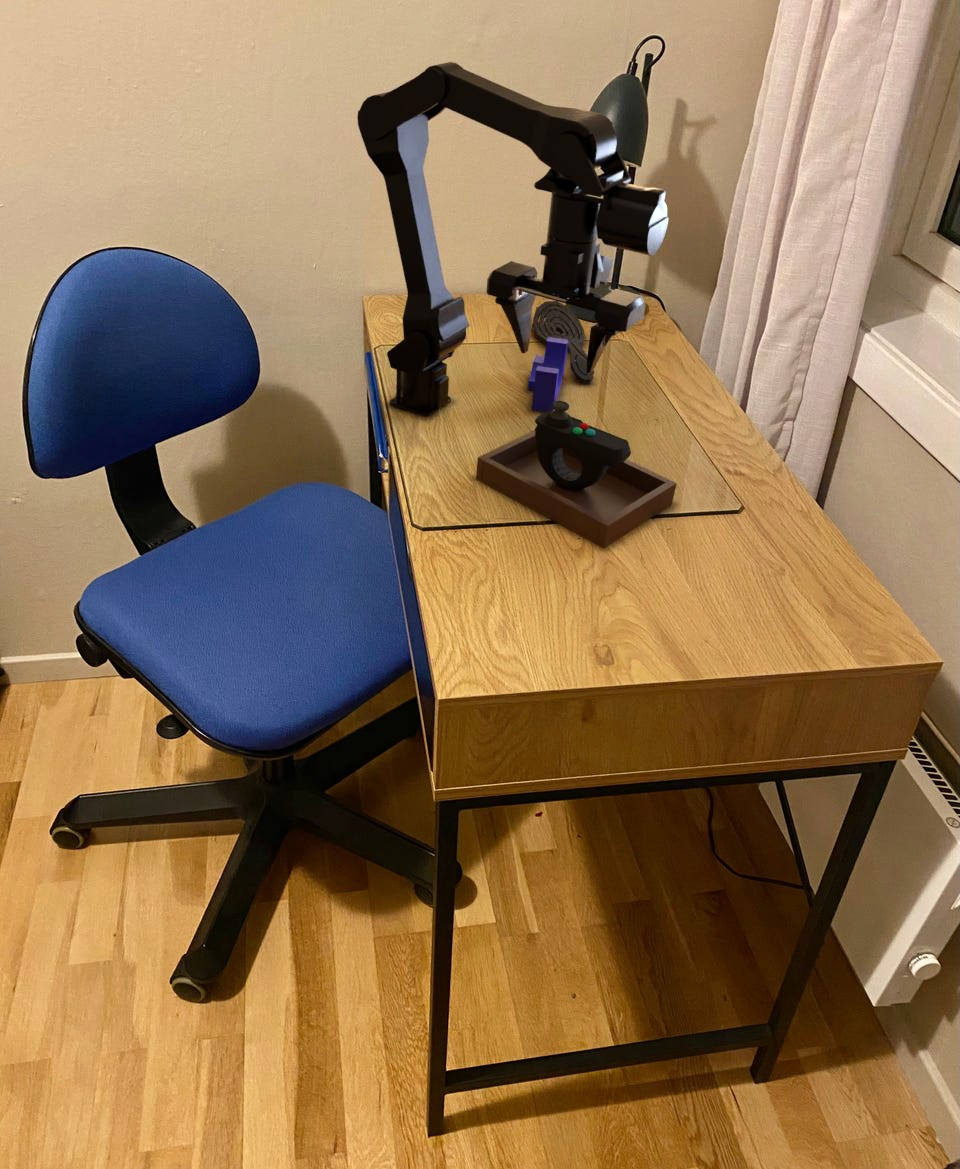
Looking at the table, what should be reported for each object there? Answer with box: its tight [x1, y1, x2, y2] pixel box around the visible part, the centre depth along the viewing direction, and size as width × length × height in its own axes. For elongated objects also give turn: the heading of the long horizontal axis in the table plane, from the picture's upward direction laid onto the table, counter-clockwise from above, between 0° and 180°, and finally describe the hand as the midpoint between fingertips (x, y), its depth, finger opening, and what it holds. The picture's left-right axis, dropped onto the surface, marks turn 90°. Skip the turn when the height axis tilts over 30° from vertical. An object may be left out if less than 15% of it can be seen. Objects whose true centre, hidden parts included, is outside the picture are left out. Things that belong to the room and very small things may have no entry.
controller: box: [534, 400, 632, 489], centre depth 115 cm, size 4×12×10 cm, turn 54°
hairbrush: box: [531, 297, 595, 385], centre depth 151 cm, size 8×4×25 cm
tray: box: [475, 429, 677, 549], centre depth 117 cm, size 20×14×3 cm
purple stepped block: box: [527, 337, 568, 413], centre depth 138 cm, size 12×4×6 cm, turn 169°
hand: (556, 362), depth 119 cm, fingers open, 9 cm apart
